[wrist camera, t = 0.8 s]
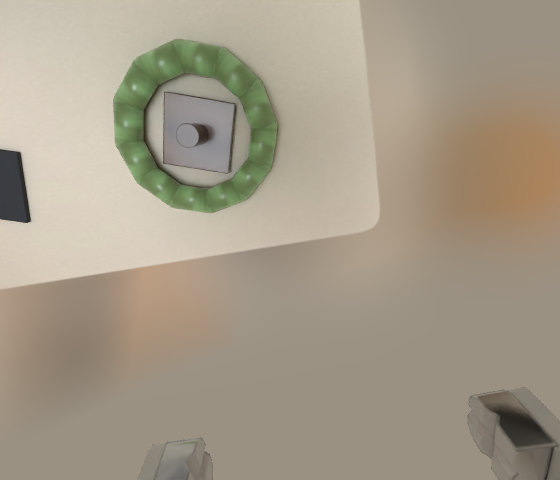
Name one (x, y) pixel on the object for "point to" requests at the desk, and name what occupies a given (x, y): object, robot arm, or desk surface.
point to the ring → (202, 62)
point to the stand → (198, 132)
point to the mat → (12, 188)
